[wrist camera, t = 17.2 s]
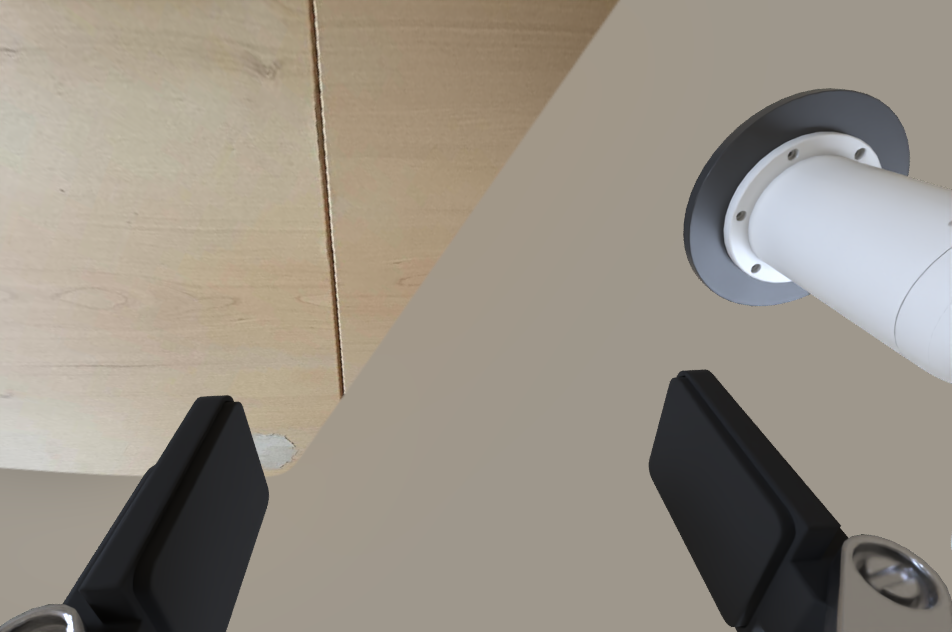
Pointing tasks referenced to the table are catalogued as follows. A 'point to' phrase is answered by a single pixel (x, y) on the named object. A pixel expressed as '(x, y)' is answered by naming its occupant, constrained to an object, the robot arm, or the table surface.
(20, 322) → the table surface
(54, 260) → the table surface
